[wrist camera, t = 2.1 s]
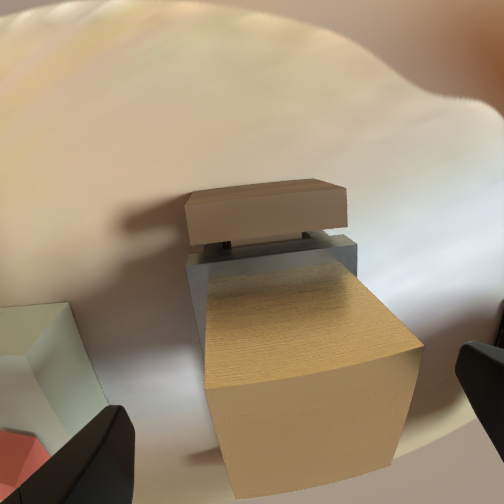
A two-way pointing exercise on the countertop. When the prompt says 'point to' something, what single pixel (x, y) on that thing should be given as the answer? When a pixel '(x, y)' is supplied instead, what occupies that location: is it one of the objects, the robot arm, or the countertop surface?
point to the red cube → (18, 460)
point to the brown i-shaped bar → (264, 212)
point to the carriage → (299, 363)
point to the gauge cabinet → (45, 375)
